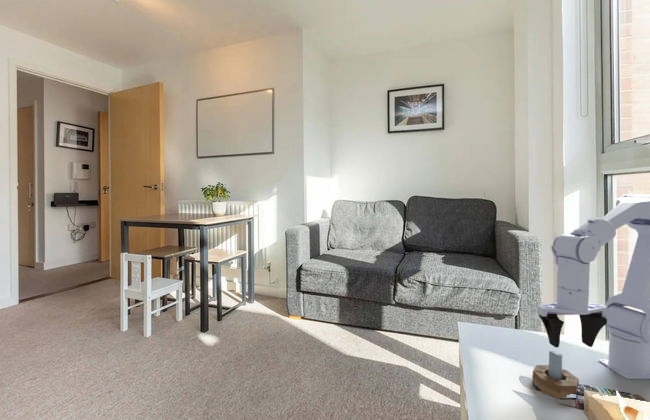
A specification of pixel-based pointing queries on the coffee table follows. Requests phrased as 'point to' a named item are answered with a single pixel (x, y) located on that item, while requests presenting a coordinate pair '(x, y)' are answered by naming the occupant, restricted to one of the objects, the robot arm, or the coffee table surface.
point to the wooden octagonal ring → (555, 382)
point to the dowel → (555, 365)
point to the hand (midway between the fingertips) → (570, 345)
